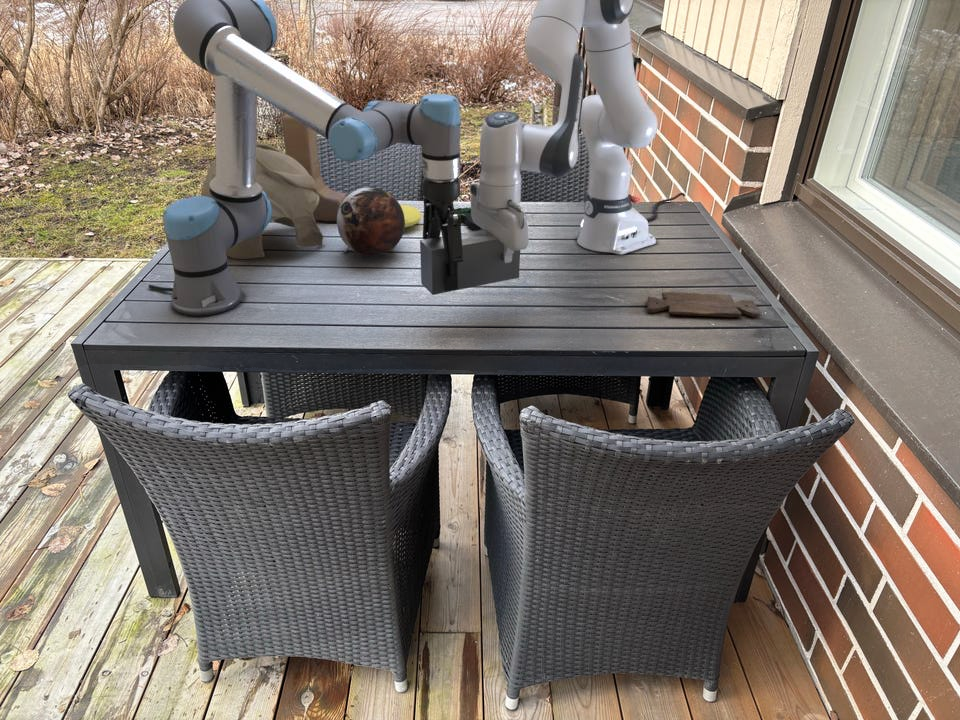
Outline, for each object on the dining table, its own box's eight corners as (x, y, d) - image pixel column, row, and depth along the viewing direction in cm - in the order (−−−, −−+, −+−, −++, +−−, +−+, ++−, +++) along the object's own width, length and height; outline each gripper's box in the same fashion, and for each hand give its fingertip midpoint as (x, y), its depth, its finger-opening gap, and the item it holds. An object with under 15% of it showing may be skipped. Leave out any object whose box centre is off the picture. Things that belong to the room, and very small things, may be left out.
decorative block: (341, 222, 212) (332, 118, 197) (293, 219, 214) (280, 116, 199) (348, 214, 219) (340, 113, 204) (301, 211, 221) (289, 110, 205)
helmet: (337, 253, 194) (330, 140, 179) (228, 274, 179) (210, 153, 164) (298, 224, 213) (288, 120, 198) (196, 241, 198) (178, 130, 183)
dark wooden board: (642, 297, 172) (648, 316, 163) (643, 291, 171) (649, 310, 162) (751, 300, 171) (762, 319, 162) (752, 293, 170) (764, 313, 161)
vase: (376, 214, 219) (375, 191, 216) (426, 217, 218) (426, 194, 214) (362, 232, 206) (360, 208, 202) (415, 235, 204) (415, 212, 201)
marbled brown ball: (330, 217, 201) (372, 164, 193) (380, 258, 206) (423, 208, 197) (307, 245, 182) (352, 187, 173) (363, 289, 186) (409, 234, 178)
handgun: (467, 223, 206) (446, 206, 217) (467, 232, 208) (445, 215, 219) (516, 216, 213) (492, 199, 224) (515, 225, 214) (492, 209, 226)
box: (505, 267, 164) (507, 225, 158) (519, 277, 159) (521, 234, 154) (421, 283, 156) (419, 240, 150) (432, 295, 151) (431, 250, 146)
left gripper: (404, 166, 149) (408, 267, 161) (445, 194, 133) (446, 304, 145) (437, 162, 152) (439, 261, 163) (481, 189, 136) (479, 297, 147)
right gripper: (538, 206, 144) (534, 270, 151) (491, 179, 159) (490, 237, 166) (510, 211, 141) (508, 275, 148) (465, 182, 157) (465, 242, 164)
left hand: (442, 281), depth 154 cm, fingers open, 8 cm apart
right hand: (498, 255), depth 157 cm, fingers closed on box, 6 cm apart
